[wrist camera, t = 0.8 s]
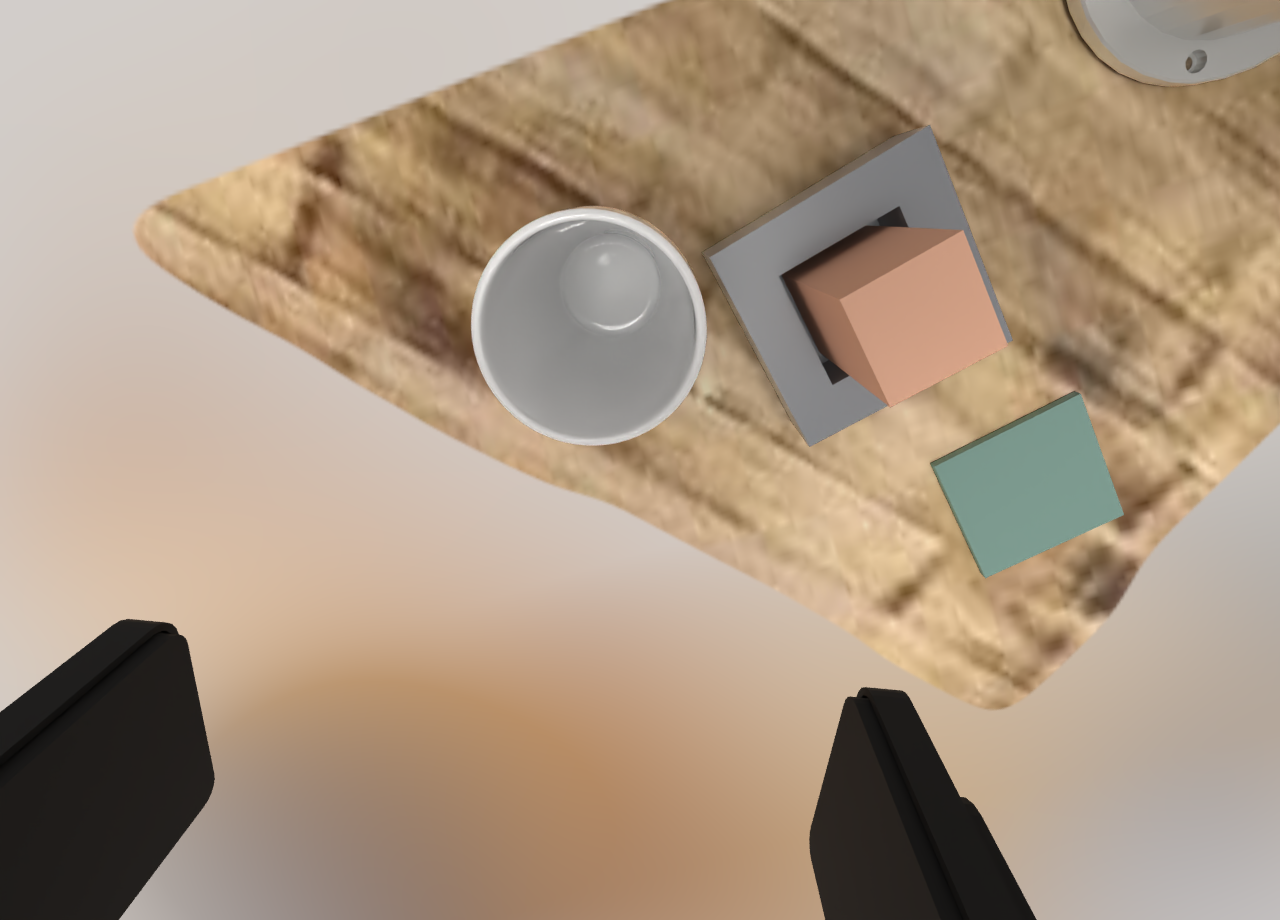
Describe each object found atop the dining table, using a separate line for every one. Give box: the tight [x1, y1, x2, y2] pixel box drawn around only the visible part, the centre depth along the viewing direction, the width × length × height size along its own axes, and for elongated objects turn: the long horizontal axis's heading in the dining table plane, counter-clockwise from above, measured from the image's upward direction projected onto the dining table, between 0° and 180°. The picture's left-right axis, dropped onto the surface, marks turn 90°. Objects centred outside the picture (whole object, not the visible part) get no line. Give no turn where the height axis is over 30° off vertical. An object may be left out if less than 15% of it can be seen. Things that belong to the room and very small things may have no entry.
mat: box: [930, 391, 1124, 578], centre depth 35 cm, size 8×8×1 cm
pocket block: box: [702, 125, 1012, 447], centre depth 30 cm, size 10×10×4 cm
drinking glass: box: [471, 206, 707, 446], centre depth 25 cm, size 7×7×15 cm
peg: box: [782, 225, 1008, 407], centre depth 27 cm, size 4×4×10 cm
